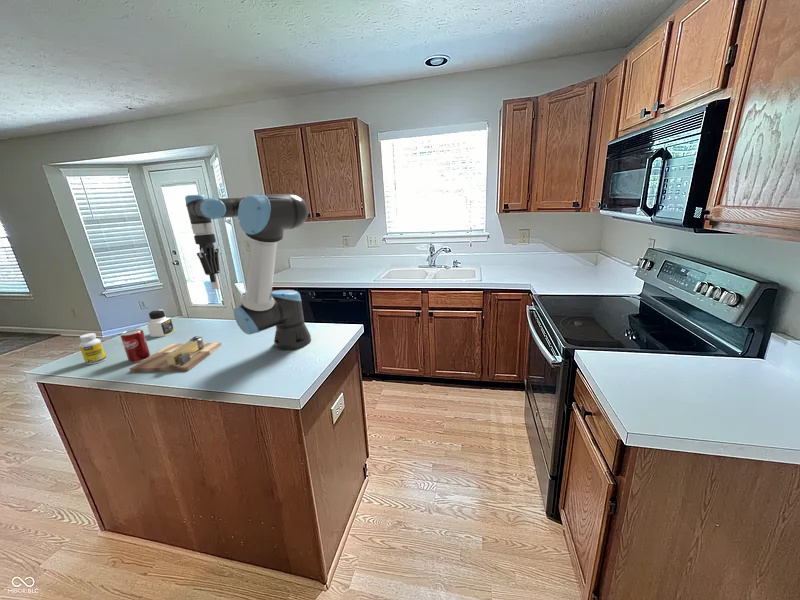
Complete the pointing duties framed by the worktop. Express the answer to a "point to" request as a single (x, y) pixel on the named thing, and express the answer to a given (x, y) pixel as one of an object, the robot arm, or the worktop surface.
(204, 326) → the worktop surface
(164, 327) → the medicine bottle
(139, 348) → the soda can
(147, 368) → the wooden cutting board
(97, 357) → the pill bottle
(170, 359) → the swing bar
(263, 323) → the robot arm
